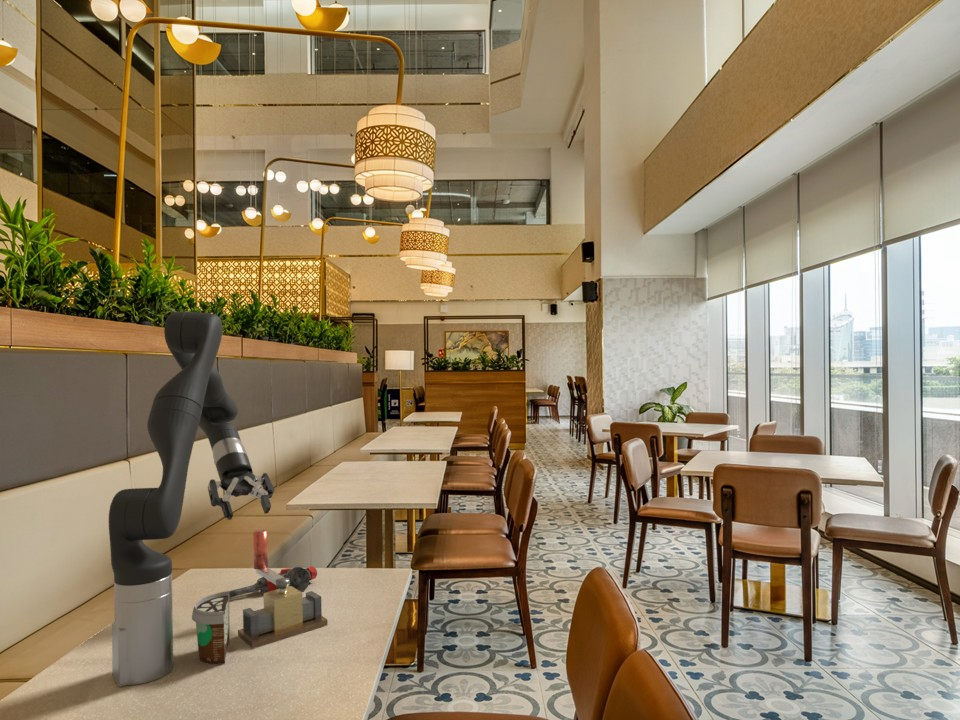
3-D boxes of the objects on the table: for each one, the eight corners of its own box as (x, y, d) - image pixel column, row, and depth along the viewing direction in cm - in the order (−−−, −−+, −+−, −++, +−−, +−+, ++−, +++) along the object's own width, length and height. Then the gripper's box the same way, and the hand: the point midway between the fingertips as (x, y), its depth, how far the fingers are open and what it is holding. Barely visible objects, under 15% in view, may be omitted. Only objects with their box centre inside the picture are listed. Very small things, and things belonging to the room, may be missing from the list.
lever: (292, 585, 127) (291, 541, 128) (278, 589, 125) (277, 544, 126) (264, 569, 139) (264, 529, 139) (251, 572, 137) (251, 531, 137)
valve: (307, 580, 165) (324, 587, 152) (203, 606, 151) (213, 616, 138) (305, 556, 166) (322, 561, 153) (201, 580, 152) (210, 588, 139)
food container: (197, 644, 122) (196, 593, 122) (230, 639, 123) (229, 589, 124) (187, 673, 110) (186, 617, 110) (224, 667, 112) (223, 612, 112)
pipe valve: (252, 648, 119) (251, 602, 119) (237, 635, 125) (237, 591, 125) (327, 625, 129) (326, 582, 130) (310, 614, 135) (310, 573, 136)
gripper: (204, 453, 144) (221, 509, 135) (264, 447, 153) (283, 500, 144) (197, 473, 147) (214, 529, 139) (256, 466, 157) (275, 518, 148)
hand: (249, 514), depth 141 cm, fingers open, 8 cm apart
